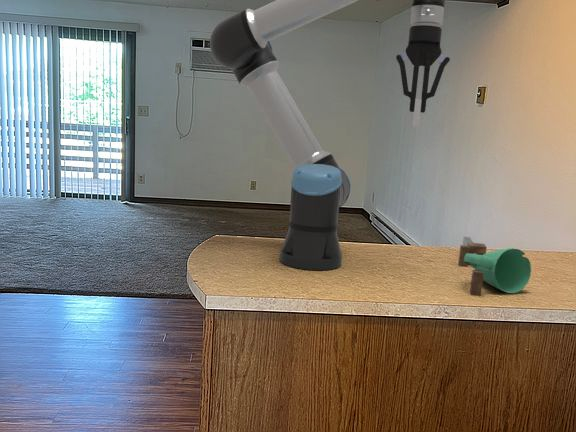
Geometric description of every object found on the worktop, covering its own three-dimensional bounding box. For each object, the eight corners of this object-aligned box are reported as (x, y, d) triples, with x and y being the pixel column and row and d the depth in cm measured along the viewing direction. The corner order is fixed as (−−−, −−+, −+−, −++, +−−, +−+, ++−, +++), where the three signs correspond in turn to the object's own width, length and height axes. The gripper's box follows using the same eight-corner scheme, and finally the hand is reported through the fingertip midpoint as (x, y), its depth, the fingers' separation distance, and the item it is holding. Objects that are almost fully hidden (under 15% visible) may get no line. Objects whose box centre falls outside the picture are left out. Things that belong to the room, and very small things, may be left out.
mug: (504, 251, 133) (535, 255, 124) (494, 291, 133) (524, 298, 123) (454, 234, 129) (483, 237, 119) (443, 275, 128) (471, 281, 119)
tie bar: (473, 266, 143) (474, 257, 142) (462, 244, 168) (463, 236, 168) (481, 267, 143) (482, 258, 142) (469, 245, 168) (470, 237, 167)
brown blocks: (471, 294, 120) (473, 271, 119) (456, 259, 151) (458, 240, 150) (503, 298, 119) (506, 275, 118) (482, 261, 149) (484, 243, 148)
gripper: (398, 23, 132) (388, 124, 137) (455, 25, 130) (443, 128, 134) (398, 28, 140) (389, 124, 144) (452, 30, 137) (441, 127, 142)
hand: (415, 125), depth 139 cm, fingers closed
